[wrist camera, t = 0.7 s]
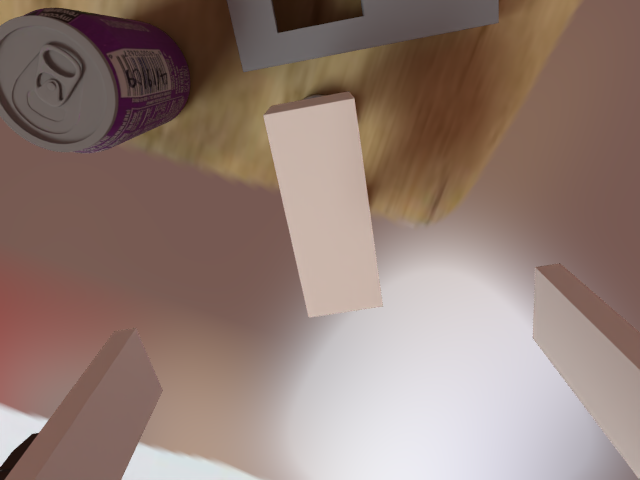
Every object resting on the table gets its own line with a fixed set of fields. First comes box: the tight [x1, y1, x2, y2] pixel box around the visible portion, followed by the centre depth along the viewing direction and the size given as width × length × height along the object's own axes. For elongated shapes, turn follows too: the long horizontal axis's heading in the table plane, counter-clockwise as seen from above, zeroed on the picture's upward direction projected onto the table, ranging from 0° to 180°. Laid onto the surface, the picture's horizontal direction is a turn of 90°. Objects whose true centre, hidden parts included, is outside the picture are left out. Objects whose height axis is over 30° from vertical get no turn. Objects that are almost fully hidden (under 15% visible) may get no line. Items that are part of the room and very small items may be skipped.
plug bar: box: [263, 91, 383, 317], centre depth 28 cm, size 12×4×12 cm, turn 10°
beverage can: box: [0, 8, 190, 153], centre depth 26 cm, size 7×7×12 cm
